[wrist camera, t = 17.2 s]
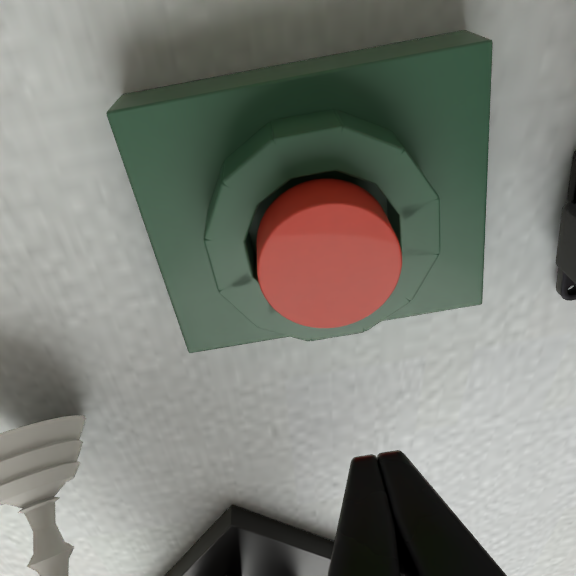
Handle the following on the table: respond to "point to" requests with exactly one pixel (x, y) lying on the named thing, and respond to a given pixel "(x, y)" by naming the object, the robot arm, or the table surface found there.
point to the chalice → (41, 483)
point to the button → (327, 254)
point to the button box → (313, 175)
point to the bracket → (255, 549)
